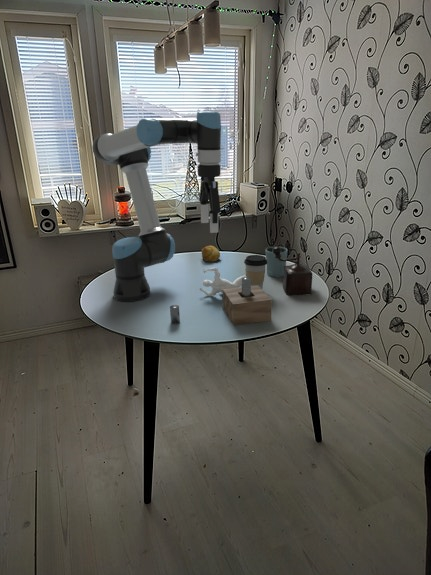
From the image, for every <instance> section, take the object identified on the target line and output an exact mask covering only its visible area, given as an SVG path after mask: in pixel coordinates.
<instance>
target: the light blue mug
mask: <svg viewBox="0 0 431 575" xmlns="http://www.w3.org/2000/svg"><path fill="white" fill-rule="evenodd" d="M274 247H275V246H270V247H266V248H265V250H264V251H265V258H266V260H267V264H266V275H267V276H269V277H272V278H280V277H283V276H284V266H287V261H280V260H278V258H275V254H274V253H273V252H272V250H273V248H274ZM279 247H280V248H281V253H280V254H281V259H288V248H286V247H283V246H279Z"/></svg>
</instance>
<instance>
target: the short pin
mask: <svg viewBox="0 0 431 575" xmlns="http://www.w3.org/2000/svg"><path fill="white" fill-rule="evenodd" d="M169 314H170V323H171V324H172V325H178V324H180V323H181V318H180V314H181V313H180V306H179V305H178V304H173V305H170V306H169Z"/></svg>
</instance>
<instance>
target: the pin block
mask: <svg viewBox="0 0 431 575" xmlns="http://www.w3.org/2000/svg"><path fill="white" fill-rule="evenodd" d="M272 304H273V301H272V298H271V297H270V296H269V295H268V294H267V293H266V292H265V290H263V288H262V289H261V288H260V287H259V286H258V285H256V286H251V297H244V298H242V287H241V286H240V287H239V288H230V289H223V293H222V310H223V311H224V313H225V314H226V316H227V318H228V319H229V321H230V322H231V324H232V326H236V325H237V326H238V325H246V324H252V323H253V324H254V323H259V322H269V321H271V320H272Z"/></svg>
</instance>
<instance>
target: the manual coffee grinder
mask: <svg viewBox="0 0 431 575" xmlns="http://www.w3.org/2000/svg"><path fill="white" fill-rule="evenodd" d="M273 247H274V248H273V250H272V252H273V253H274V254H275V258H278V260H280V261H286V262H289V261H294V260H297V261H295V262H294V264H291V265H286V266H284V276H282V277H283V280H282V289H283V292H284V294H285V295H286V296H287V295H288V296H304V295H303V294H310V295H312V285H313V272H312V271H311V269H310V267H309V266H308V264H306V265H304V264H302V263H300V258H301V253H300V252H297V254H296V255H297V256H295V257H290V258H287V259H281V254H280V253H281V248H280V247H281V246H273Z"/></svg>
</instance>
